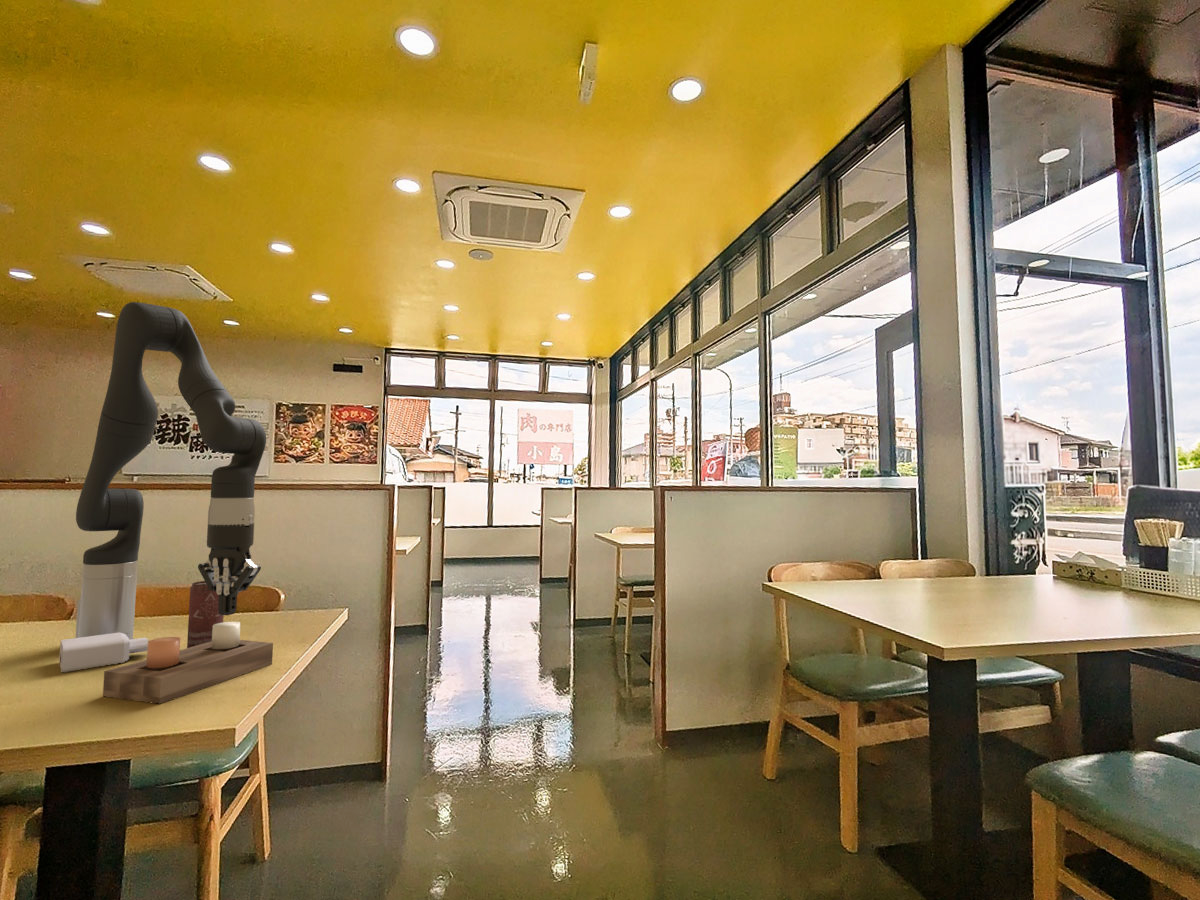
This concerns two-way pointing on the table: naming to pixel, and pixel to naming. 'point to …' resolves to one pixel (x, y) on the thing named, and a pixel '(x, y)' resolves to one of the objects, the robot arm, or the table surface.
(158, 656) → the terracotta button
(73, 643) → the charger
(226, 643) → the offwhite button
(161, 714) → the table surface
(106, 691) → the button panel
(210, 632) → the can
